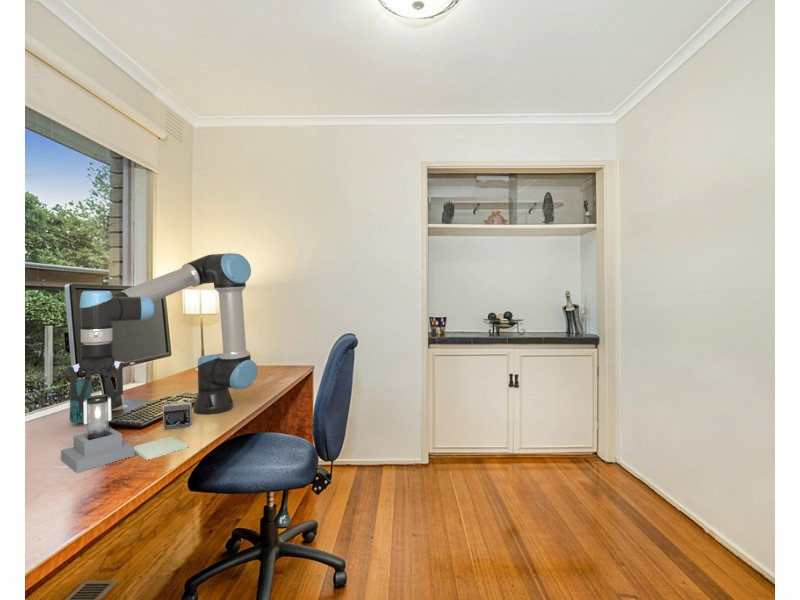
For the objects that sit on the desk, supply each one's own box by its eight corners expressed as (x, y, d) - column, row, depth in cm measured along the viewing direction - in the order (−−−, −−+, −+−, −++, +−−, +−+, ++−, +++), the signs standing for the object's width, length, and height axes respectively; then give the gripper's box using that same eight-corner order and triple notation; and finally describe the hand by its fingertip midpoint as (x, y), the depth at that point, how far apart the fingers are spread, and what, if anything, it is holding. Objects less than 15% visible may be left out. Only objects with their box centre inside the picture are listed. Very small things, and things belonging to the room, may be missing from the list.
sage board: (170, 439, 135) (170, 436, 135) (188, 447, 128) (188, 444, 128) (130, 450, 126) (130, 447, 126) (146, 460, 118) (146, 457, 118)
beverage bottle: (73, 422, 152) (73, 369, 151) (94, 420, 154) (94, 368, 154) (66, 428, 146) (65, 373, 145) (88, 426, 148) (87, 372, 147)
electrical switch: (192, 424, 151) (191, 400, 150) (191, 429, 146) (190, 405, 145) (163, 427, 147) (162, 402, 146) (161, 433, 143) (160, 408, 142)
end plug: (105, 436, 123) (104, 393, 123) (111, 439, 120) (110, 396, 120) (85, 440, 119) (84, 397, 119) (91, 444, 116) (90, 399, 116)
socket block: (116, 445, 130) (116, 424, 129) (134, 456, 121) (134, 433, 121) (61, 460, 118) (60, 436, 118) (76, 473, 110) (76, 447, 110)
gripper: (55, 346, 111) (56, 430, 111) (133, 342, 121) (134, 419, 121) (59, 343, 117) (60, 423, 118) (133, 339, 127) (134, 413, 128)
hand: (98, 421), depth 120 cm, fingers closed on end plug, 5 cm apart
